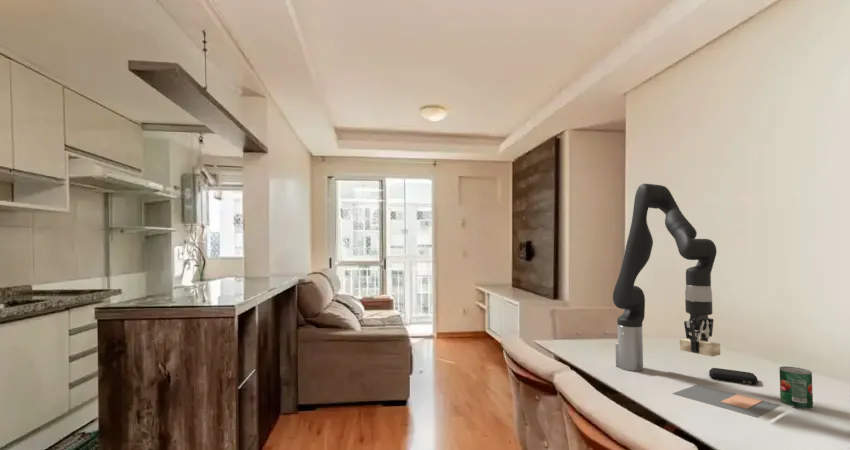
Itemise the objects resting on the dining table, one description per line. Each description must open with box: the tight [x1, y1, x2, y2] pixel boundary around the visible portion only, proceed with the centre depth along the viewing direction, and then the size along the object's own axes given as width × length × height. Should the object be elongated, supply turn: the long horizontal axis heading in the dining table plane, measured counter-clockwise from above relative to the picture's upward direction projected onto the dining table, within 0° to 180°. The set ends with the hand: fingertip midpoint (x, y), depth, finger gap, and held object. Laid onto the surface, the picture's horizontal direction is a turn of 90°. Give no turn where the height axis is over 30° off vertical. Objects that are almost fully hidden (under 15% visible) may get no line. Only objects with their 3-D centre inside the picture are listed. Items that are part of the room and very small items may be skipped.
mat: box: [671, 383, 782, 419], centre depth 140 cm, size 24×18×1 cm
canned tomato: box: [778, 366, 814, 411], centre depth 136 cm, size 8×8×11 cm
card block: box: [679, 337, 721, 358], centre depth 143 cm, size 10×5×4 cm, turn 31°
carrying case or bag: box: [708, 367, 759, 386], centre depth 162 cm, size 11×3×15 cm
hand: (699, 351), depth 143 cm, fingers closed on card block, 5 cm apart
